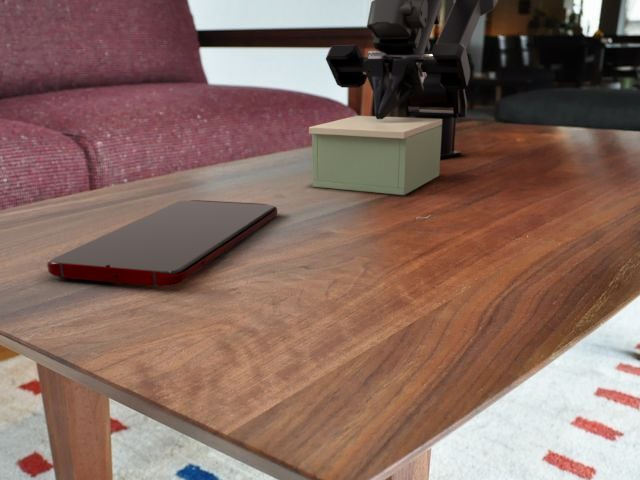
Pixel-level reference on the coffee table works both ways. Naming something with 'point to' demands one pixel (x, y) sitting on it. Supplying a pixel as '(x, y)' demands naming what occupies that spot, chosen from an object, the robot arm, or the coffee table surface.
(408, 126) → the cover
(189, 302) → the coffee table surface
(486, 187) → the coffee table surface
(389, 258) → the coffee table surface
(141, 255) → the smartphone
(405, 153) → the case
